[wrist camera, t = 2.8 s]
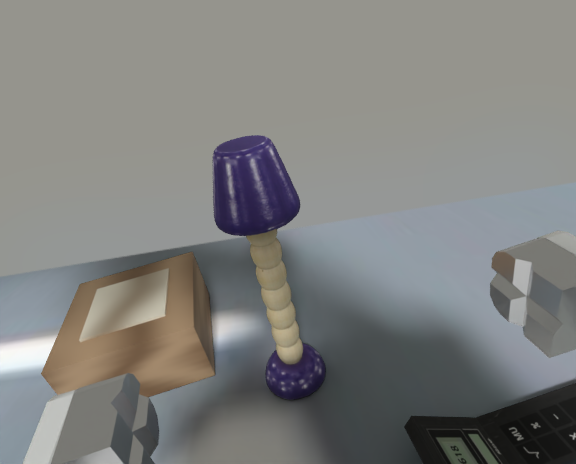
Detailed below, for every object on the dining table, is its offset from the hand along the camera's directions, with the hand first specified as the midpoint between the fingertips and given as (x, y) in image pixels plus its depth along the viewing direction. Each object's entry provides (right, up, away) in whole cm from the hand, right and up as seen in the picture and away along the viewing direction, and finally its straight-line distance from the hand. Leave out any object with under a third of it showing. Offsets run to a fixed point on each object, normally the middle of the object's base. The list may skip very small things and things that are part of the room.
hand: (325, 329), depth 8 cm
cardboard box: (-12, -8, +23) cm, 27 cm away
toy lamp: (0, -8, +19) cm, 20 cm away
